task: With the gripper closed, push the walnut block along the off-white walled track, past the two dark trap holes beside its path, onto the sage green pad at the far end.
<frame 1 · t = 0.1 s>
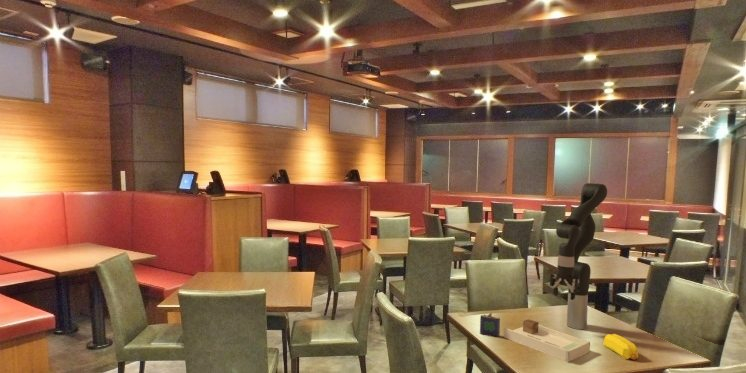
hand: (563, 297, 218), 17 cm above the table, tool pointing down, fingers open, 8 cm apart
flask: (489, 335, 213), on the table
walnut block: (530, 331, 213), point 2 cm above the table, touching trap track
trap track: (545, 344, 203), on the table
yellow banana: (620, 353, 195), on the table
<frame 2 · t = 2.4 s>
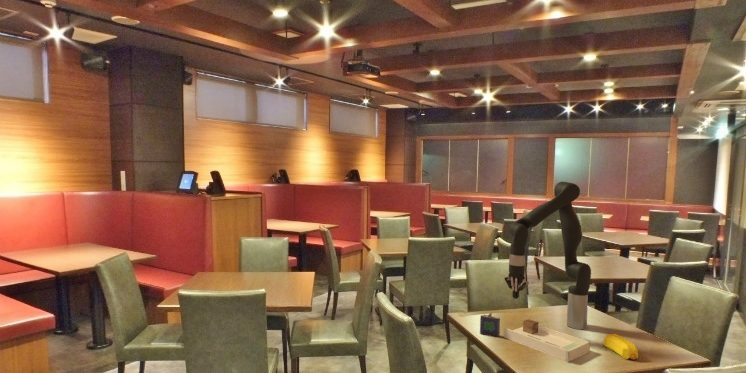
hand: (515, 298, 219), 16 cm above the table, tool pointing down, fingers closed
nothing on the table moved.
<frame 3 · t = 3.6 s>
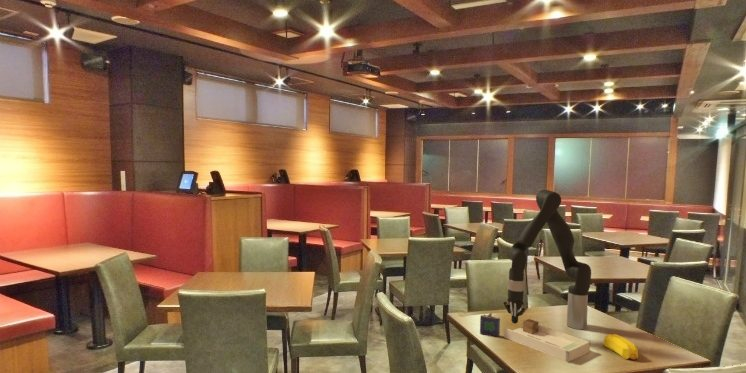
hand: (514, 322, 220), 4 cm above the table, tool pointing down, fingers closed
nothing on the table moved.
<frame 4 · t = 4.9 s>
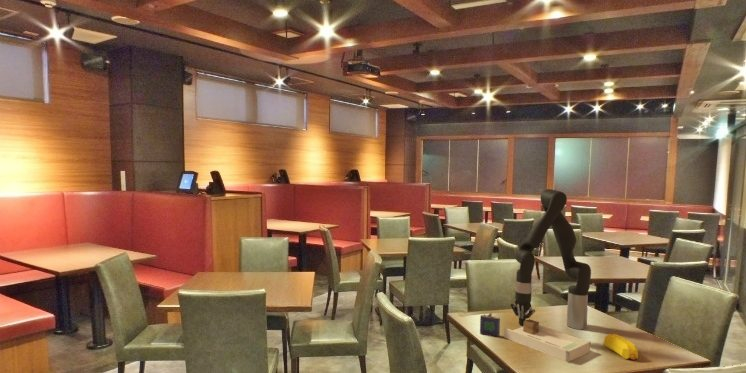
hand: (521, 325, 216), 4 cm above the table, tool pointing down, fingers closed
walnut block: (530, 331, 212), point 2 cm above the table, touching gripper
everything else where it was.
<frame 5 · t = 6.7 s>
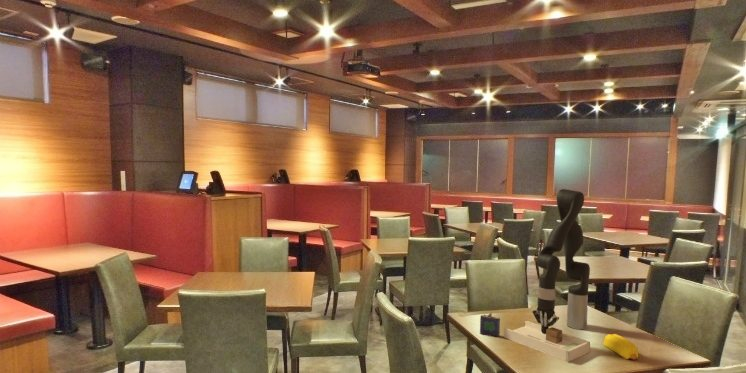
hand: (544, 333, 206), 4 cm above the table, tool pointing down, fingers closed
walnut block: (553, 340, 202), point 2 cm above the table, touching gripper
everything else where it was.
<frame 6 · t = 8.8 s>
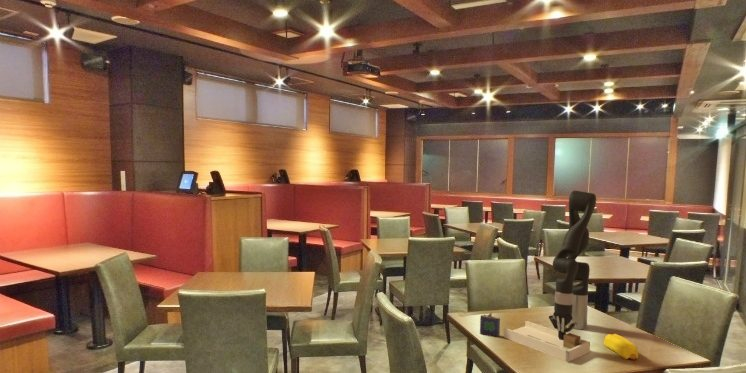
hand: (561, 339, 199), 4 cm above the table, tool pointing down, fingers closed
walnut block: (571, 347, 195), point 2 cm above the table, touching gripper, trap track
everything else where it was.
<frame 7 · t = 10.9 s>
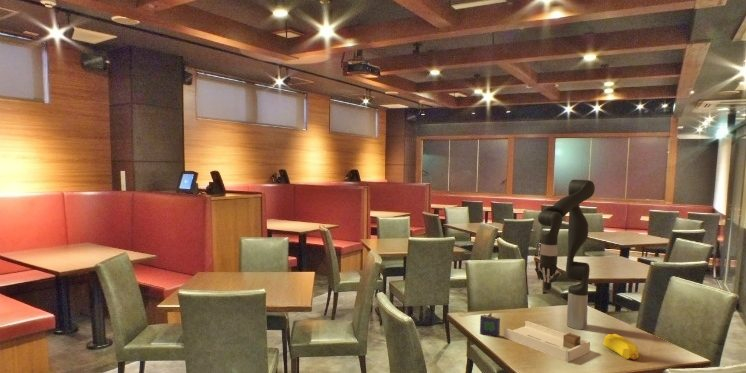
hand: (547, 289, 208), 24 cm above the table, tool pointing down, fingers closed
walnut block: (571, 346, 195), point 2 cm above the table, touching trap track
everything else where it was.
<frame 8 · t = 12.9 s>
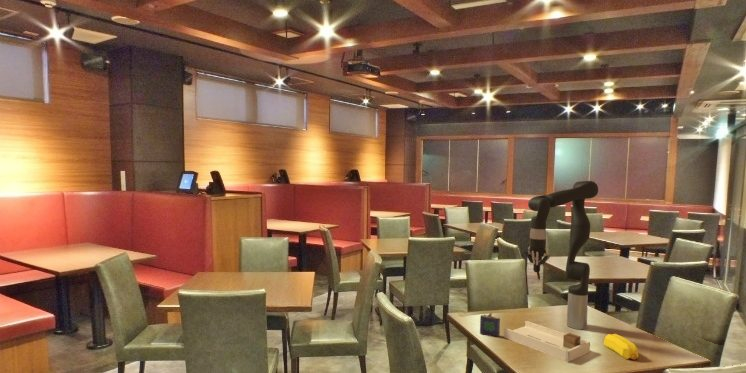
hand: (536, 272, 220), 29 cm above the table, tool pointing down, fingers closed
nothing on the table moved.
at the end: walnut block inside the target area on the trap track (1.1 cm from its centre), point 2.0 cm above the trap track's base; walnut block tilted 0° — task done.
